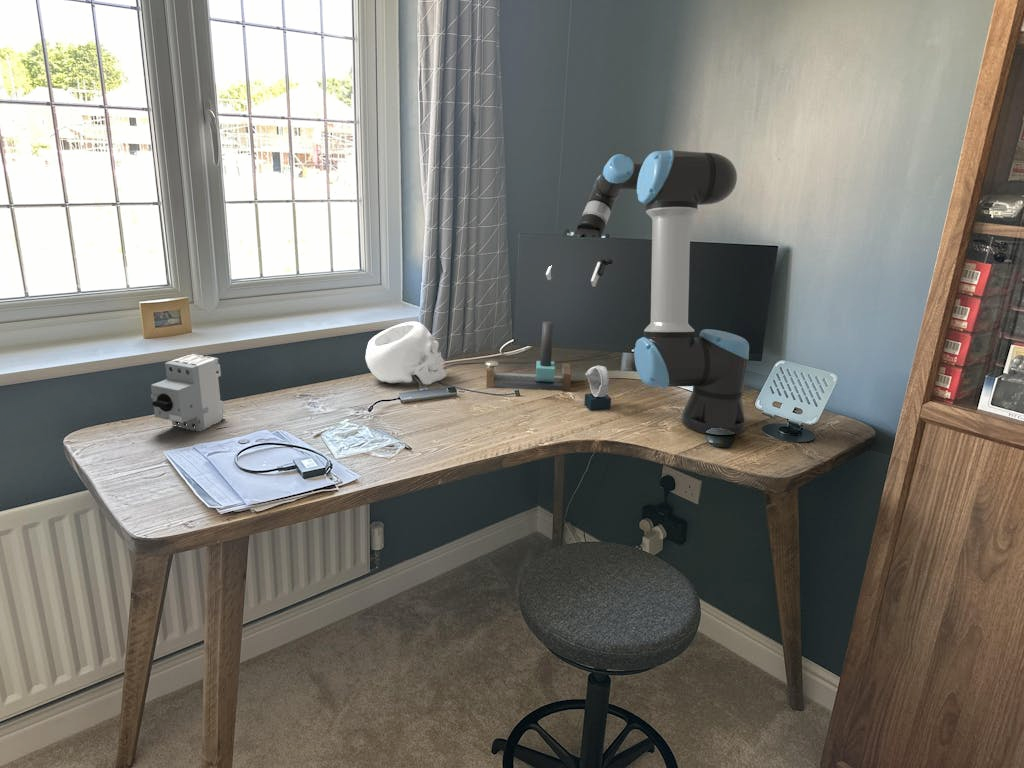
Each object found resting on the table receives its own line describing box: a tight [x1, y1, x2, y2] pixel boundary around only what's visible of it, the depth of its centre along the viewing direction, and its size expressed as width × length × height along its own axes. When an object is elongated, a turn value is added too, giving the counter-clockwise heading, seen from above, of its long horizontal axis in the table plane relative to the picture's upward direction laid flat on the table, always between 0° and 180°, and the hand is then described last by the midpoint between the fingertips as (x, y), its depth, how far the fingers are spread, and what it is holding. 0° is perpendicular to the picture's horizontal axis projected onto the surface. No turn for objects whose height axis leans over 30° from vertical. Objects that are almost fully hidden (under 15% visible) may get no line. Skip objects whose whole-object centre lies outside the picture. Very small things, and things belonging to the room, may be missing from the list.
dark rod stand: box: [535, 321, 556, 382], centre depth 194 cm, size 5×7×16 cm
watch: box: [583, 365, 612, 412], centre depth 180 cm, size 6×8×11 cm
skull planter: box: [364, 321, 448, 386], centre depth 194 cm, size 14×20×19 cm
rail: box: [484, 359, 572, 393], centre depth 197 cm, size 24×10×6 cm, turn 88°
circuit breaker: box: [150, 353, 226, 432], centre depth 156 cm, size 8×14×15 cm, turn 160°
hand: (569, 280), depth 196 cm, fingers open, 13 cm apart
